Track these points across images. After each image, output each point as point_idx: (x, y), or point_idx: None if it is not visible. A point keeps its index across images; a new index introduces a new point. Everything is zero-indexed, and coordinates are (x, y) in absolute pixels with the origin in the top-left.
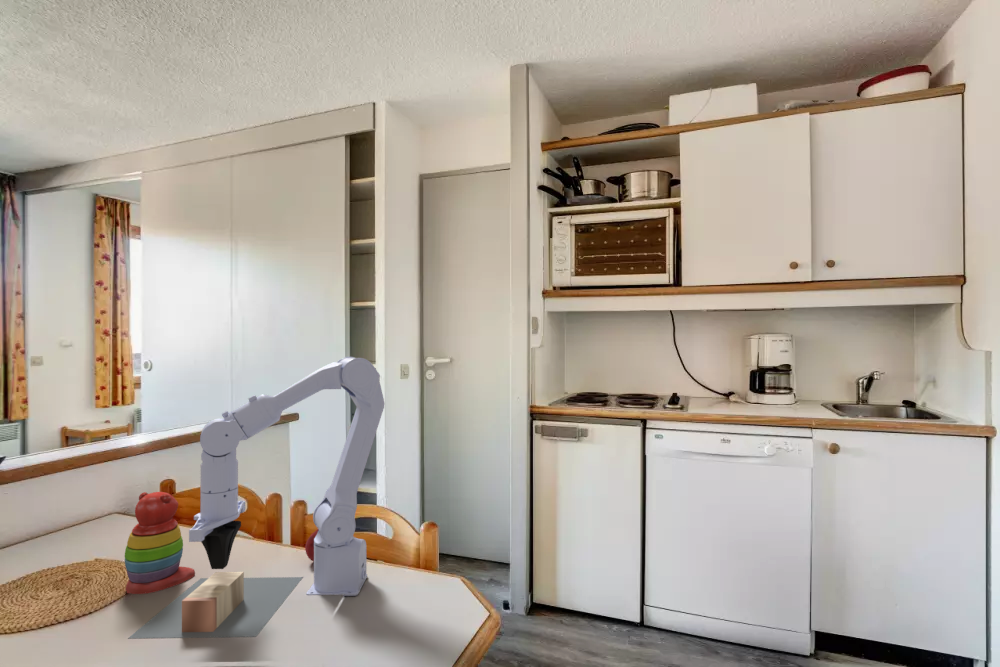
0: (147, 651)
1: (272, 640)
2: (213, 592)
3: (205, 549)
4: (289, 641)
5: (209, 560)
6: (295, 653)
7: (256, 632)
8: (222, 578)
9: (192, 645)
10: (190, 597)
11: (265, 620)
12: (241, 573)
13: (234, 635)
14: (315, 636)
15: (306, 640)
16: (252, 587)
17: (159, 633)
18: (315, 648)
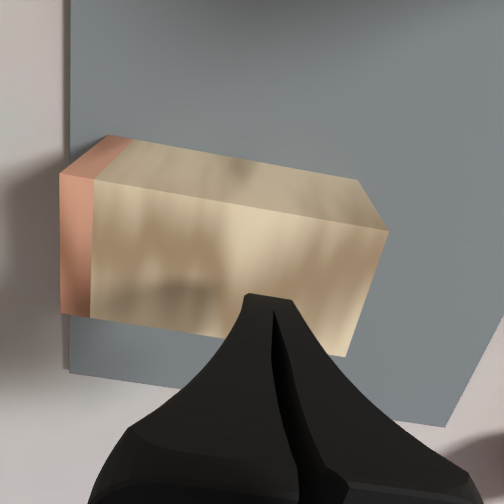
0: (4, 37)
1: (69, 402)
2: (138, 292)
3: (210, 360)
4: (63, 437)
5: (238, 317)
6: (10, 455)
7: (92, 369)
8: (294, 286)
9: (45, 196)
10: (93, 204)
11: (159, 378)
12: (327, 353)
13: (78, 316)
14: (84, 481)
15: (67, 468)
16: (425, 290)
17: (105, 39)
18: (32, 486)
